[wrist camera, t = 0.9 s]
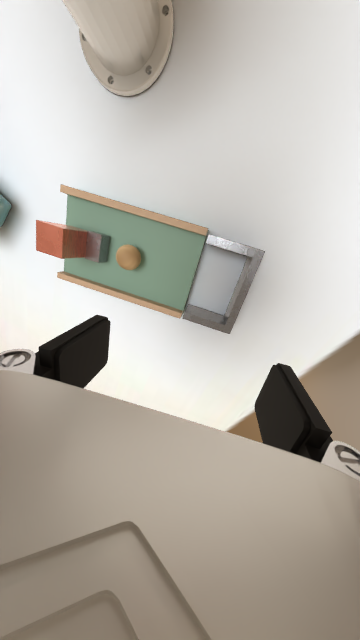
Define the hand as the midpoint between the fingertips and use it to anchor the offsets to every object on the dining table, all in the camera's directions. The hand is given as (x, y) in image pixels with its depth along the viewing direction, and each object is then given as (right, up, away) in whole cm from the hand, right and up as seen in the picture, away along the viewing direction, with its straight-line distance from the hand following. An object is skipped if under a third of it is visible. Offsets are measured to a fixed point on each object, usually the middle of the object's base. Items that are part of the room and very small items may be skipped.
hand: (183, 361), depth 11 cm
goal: (+6, +9, +23) cm, 26 cm away
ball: (-9, +13, +21) cm, 26 cm away
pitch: (-9, +14, +24) cm, 30 cm away
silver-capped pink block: (-16, +16, +23) cm, 32 cm away
